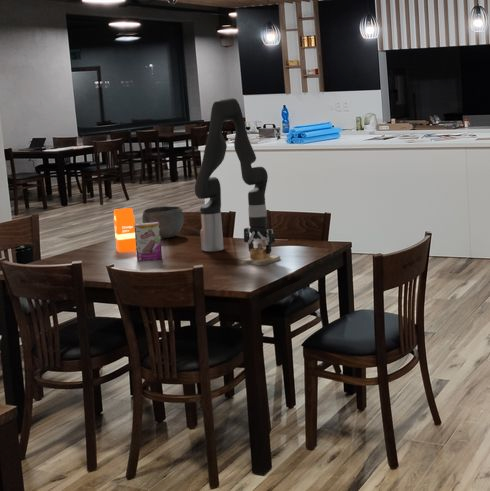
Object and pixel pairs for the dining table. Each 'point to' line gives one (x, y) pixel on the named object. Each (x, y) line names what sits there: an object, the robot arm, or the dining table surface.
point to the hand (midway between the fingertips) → (260, 252)
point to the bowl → (165, 219)
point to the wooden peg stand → (260, 262)
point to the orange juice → (124, 230)
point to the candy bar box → (148, 241)
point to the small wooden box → (258, 253)
